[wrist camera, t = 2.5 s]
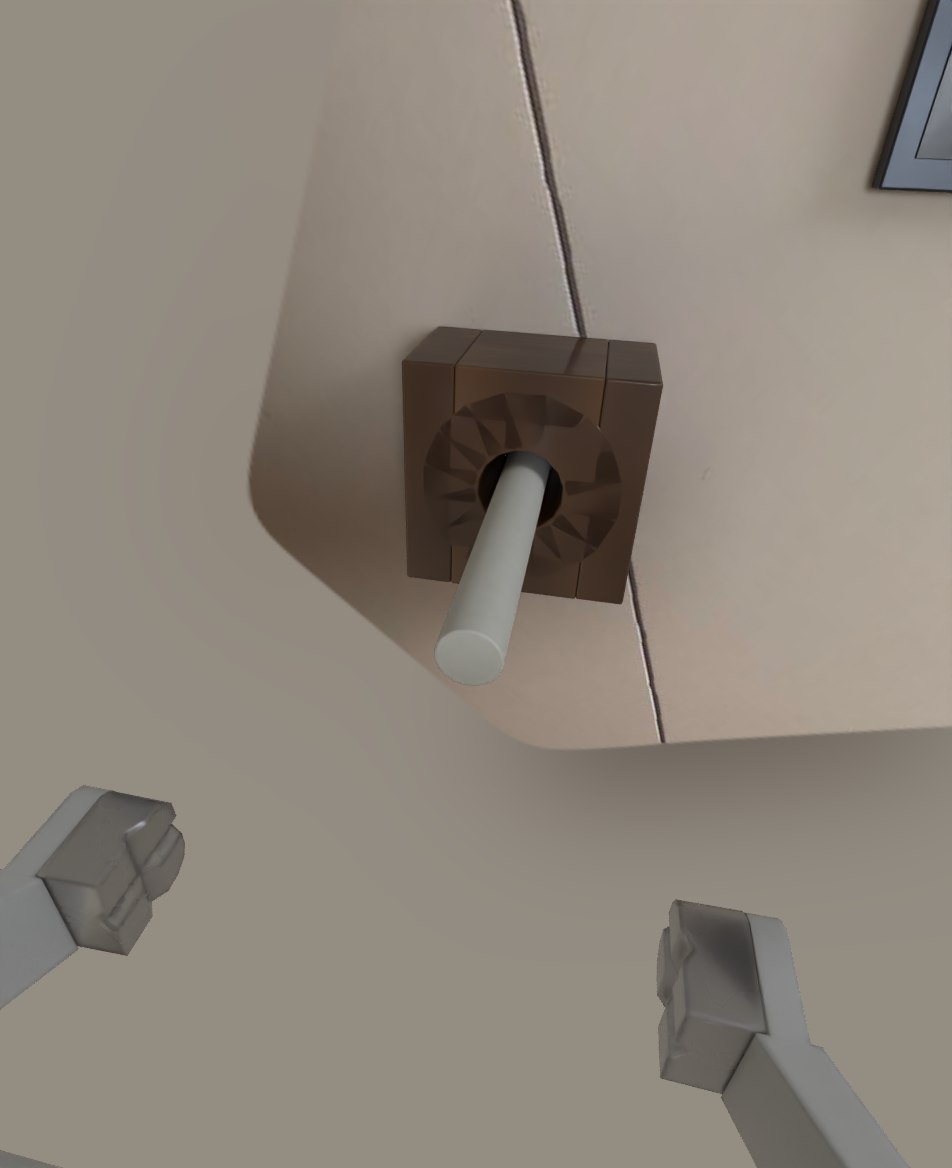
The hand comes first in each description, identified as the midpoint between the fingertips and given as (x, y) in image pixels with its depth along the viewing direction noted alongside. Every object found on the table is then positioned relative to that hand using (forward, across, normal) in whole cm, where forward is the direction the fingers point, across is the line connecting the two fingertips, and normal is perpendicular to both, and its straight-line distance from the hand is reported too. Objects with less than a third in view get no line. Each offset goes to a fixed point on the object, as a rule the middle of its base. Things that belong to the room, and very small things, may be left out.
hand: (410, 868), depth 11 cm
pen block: (+19, 0, 0) cm, 19 cm away
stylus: (+19, 0, 0) cm, 19 cm away
